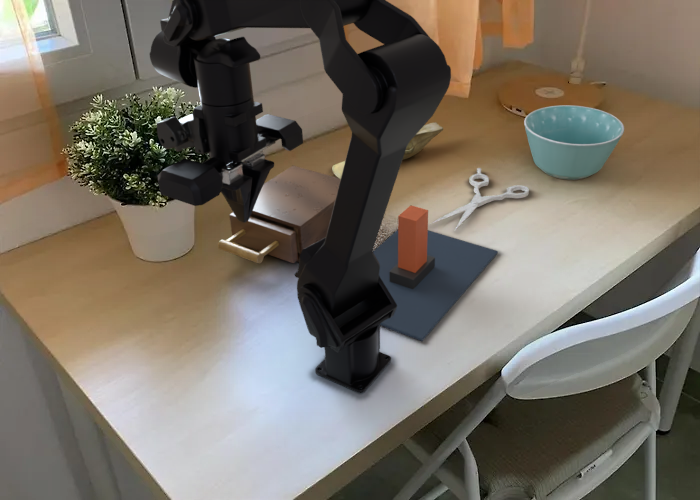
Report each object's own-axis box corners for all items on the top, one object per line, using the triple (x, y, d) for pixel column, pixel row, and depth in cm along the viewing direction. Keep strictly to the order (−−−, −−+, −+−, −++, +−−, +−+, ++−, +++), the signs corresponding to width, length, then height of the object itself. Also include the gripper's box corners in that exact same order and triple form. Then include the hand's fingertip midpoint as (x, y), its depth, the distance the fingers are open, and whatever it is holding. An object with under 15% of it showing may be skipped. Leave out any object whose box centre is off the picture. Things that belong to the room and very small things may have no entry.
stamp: (413, 289, 91) (414, 227, 86) (389, 281, 93) (389, 219, 88) (434, 267, 95) (437, 206, 90) (411, 259, 97) (412, 199, 92)
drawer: (270, 281, 93) (267, 252, 91) (209, 258, 98) (204, 230, 96) (346, 220, 106) (345, 193, 103) (289, 202, 111) (286, 176, 108)
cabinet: (303, 264, 98) (300, 226, 94) (237, 240, 104) (232, 203, 100) (359, 219, 108) (358, 183, 104) (295, 199, 113) (292, 165, 110)
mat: (422, 341, 83) (422, 338, 83) (319, 301, 90) (319, 299, 90) (497, 253, 98) (497, 250, 98) (404, 225, 106) (404, 223, 105)
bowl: (612, 196, 111) (622, 148, 106) (512, 183, 116) (517, 136, 111) (617, 154, 123) (626, 110, 118) (526, 144, 128) (531, 101, 123)
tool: (347, 191, 117) (344, 167, 115) (329, 175, 122) (326, 152, 119) (456, 150, 125) (456, 127, 122) (435, 136, 130) (435, 114, 127)
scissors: (536, 184, 113) (472, 237, 100) (535, 188, 114) (472, 241, 101) (478, 167, 119) (411, 215, 106) (478, 171, 119) (411, 220, 106)
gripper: (228, 61, 86) (243, 174, 95) (109, 112, 74) (138, 238, 82) (301, 75, 81) (309, 194, 90) (185, 133, 68) (209, 265, 77)
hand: (243, 220), depth 85 cm, fingers closed
